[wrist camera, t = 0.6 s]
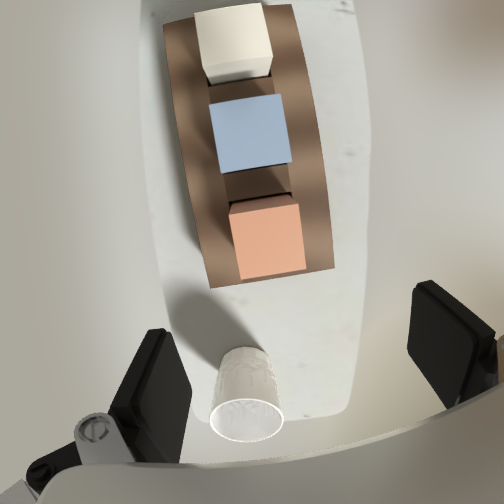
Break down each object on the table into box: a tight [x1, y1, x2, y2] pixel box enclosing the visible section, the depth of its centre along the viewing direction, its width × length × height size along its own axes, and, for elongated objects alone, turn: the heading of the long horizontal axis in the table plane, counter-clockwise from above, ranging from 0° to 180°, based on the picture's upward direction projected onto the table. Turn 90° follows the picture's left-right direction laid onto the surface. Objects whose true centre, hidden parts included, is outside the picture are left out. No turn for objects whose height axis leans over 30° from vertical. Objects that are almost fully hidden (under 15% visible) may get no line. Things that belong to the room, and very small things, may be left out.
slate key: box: [209, 94, 292, 173], centre depth 22 cm, size 5×5×6 cm
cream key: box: [194, 3, 273, 86], centre depth 20 cm, size 5×5×6 cm
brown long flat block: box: [163, 4, 335, 289], centre depth 26 cm, size 26×12×5 cm, turn 9°
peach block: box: [229, 194, 306, 280], centre depth 25 cm, size 5×5×6 cm
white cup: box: [209, 346, 284, 442], centre depth 32 cm, size 8×8×10 cm
